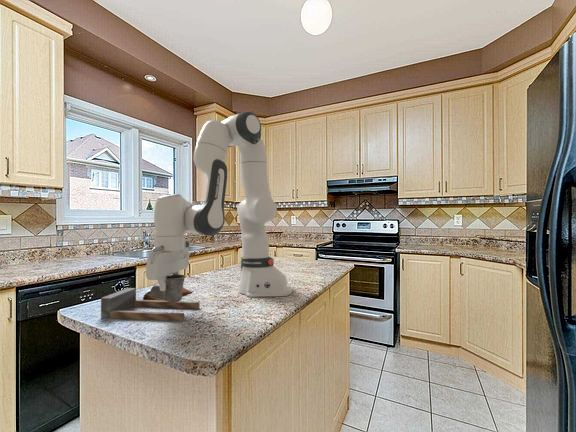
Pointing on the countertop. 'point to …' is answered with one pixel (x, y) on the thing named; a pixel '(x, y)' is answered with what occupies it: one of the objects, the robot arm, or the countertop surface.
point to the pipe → (170, 289)
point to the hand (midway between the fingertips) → (169, 287)
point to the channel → (126, 299)
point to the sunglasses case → (149, 297)
